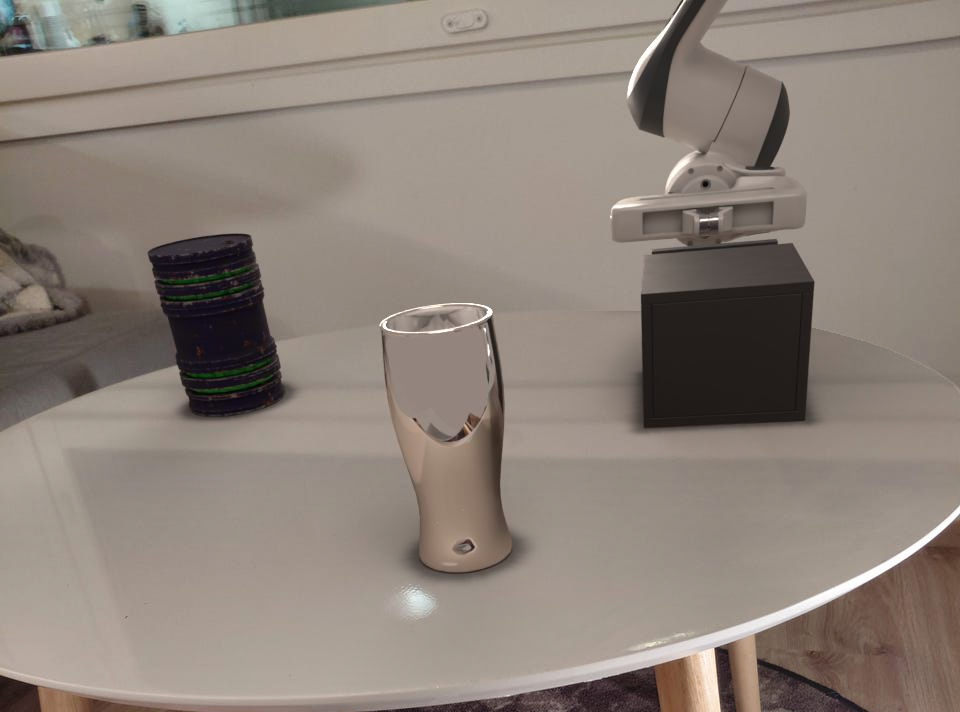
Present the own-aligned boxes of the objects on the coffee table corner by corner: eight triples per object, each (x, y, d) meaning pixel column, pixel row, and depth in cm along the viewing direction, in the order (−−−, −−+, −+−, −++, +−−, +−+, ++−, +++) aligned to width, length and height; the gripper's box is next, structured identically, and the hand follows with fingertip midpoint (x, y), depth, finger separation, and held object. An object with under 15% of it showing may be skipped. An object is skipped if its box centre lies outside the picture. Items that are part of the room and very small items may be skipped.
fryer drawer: (653, 330, 100) (652, 240, 96) (768, 323, 98) (772, 230, 94) (651, 385, 86) (650, 281, 81) (786, 377, 83) (792, 270, 79)
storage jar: (172, 419, 95) (126, 259, 87) (211, 387, 103) (172, 238, 96) (267, 413, 93) (230, 250, 86) (299, 382, 102) (267, 229, 94)
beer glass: (404, 540, 66) (367, 314, 58) (503, 520, 67) (480, 296, 59) (424, 585, 60) (385, 341, 52) (532, 563, 61) (510, 320, 53)
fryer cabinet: (646, 373, 91) (643, 255, 86) (785, 365, 89) (792, 242, 83) (643, 428, 79) (640, 294, 74) (805, 420, 77) (814, 281, 71)
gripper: (610, 182, 110) (604, 202, 99) (799, 165, 106) (815, 183, 95) (612, 241, 113) (606, 267, 102) (795, 226, 110) (810, 252, 98)
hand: (708, 226), depth 98 cm, fingers closed
